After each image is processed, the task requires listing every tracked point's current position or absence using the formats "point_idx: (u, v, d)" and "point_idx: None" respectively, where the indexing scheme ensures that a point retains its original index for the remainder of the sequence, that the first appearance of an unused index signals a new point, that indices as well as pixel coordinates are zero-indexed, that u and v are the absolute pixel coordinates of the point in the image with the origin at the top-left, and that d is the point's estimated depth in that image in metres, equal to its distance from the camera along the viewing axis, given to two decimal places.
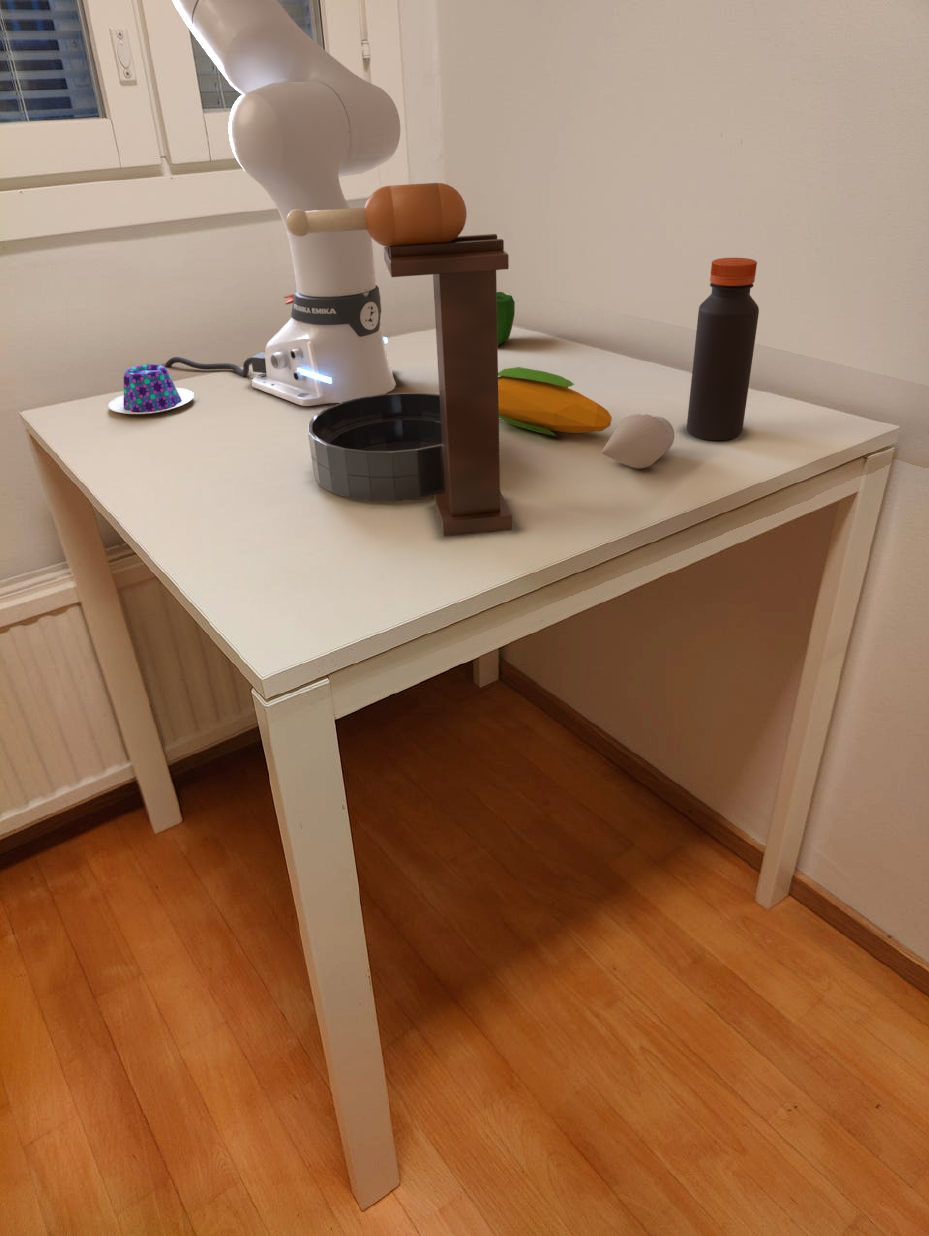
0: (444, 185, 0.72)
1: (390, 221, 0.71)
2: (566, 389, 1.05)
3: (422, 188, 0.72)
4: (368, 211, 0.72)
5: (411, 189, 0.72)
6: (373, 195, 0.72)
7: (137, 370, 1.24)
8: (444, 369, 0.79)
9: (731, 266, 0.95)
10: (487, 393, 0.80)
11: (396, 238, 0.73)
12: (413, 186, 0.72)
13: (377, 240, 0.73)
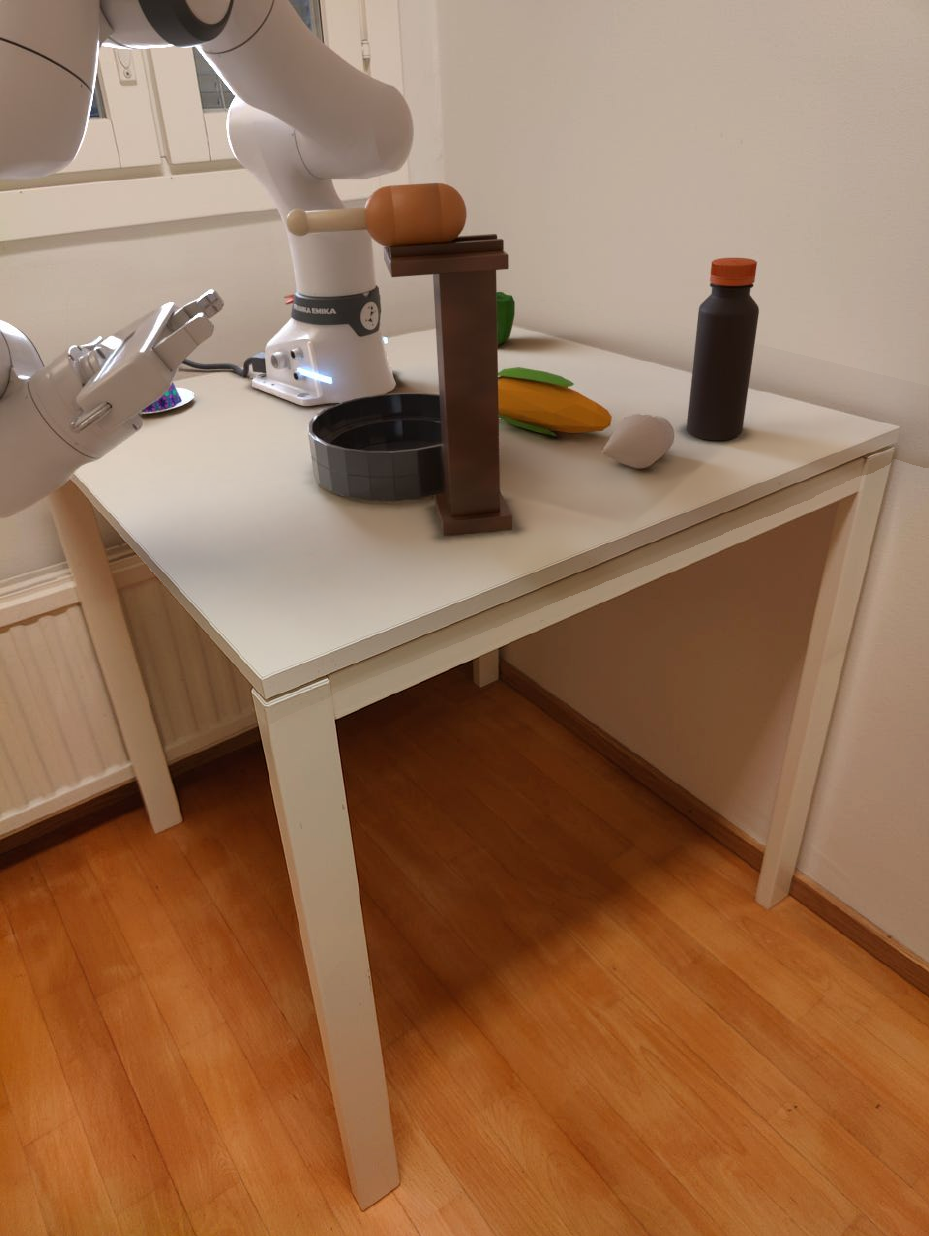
0: (444, 185, 0.72)
1: (390, 221, 0.71)
2: (566, 389, 1.05)
3: (422, 188, 0.72)
4: (368, 211, 0.72)
5: (411, 189, 0.72)
6: (373, 195, 0.72)
7: None
8: (444, 369, 0.79)
9: (731, 266, 0.95)
10: (487, 393, 0.80)
11: (396, 238, 0.73)
12: (413, 186, 0.72)
13: (377, 240, 0.73)
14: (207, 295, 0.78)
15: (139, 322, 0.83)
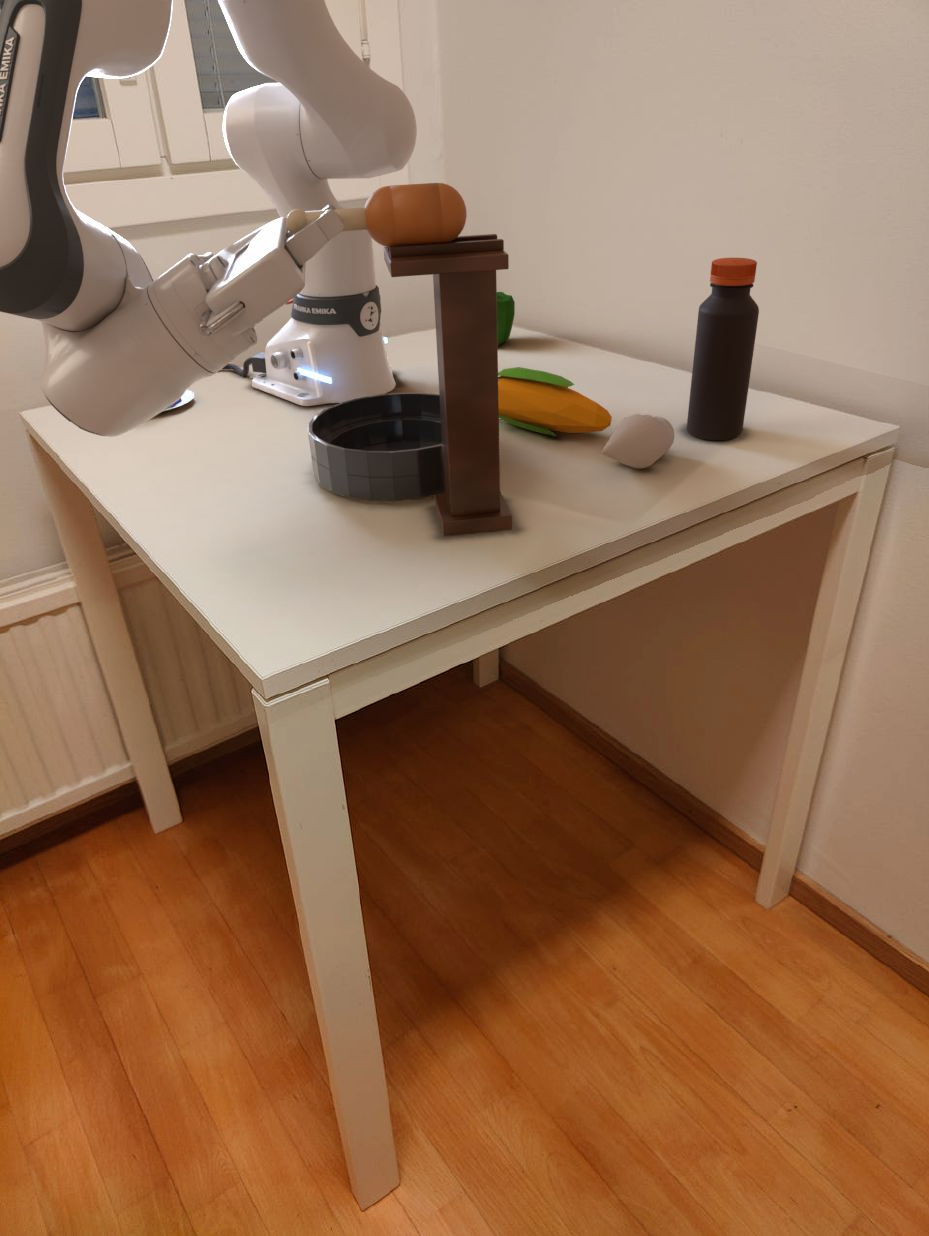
0: (444, 185, 0.72)
1: (390, 221, 0.71)
2: (566, 389, 1.05)
3: (422, 188, 0.72)
4: (368, 211, 0.72)
5: (411, 189, 0.72)
6: (373, 195, 0.72)
7: None
8: (444, 369, 0.79)
9: (731, 266, 0.95)
10: (487, 393, 0.80)
11: (396, 238, 0.73)
12: (413, 186, 0.72)
13: (377, 240, 0.73)
14: (327, 209, 0.73)
15: (250, 237, 0.80)
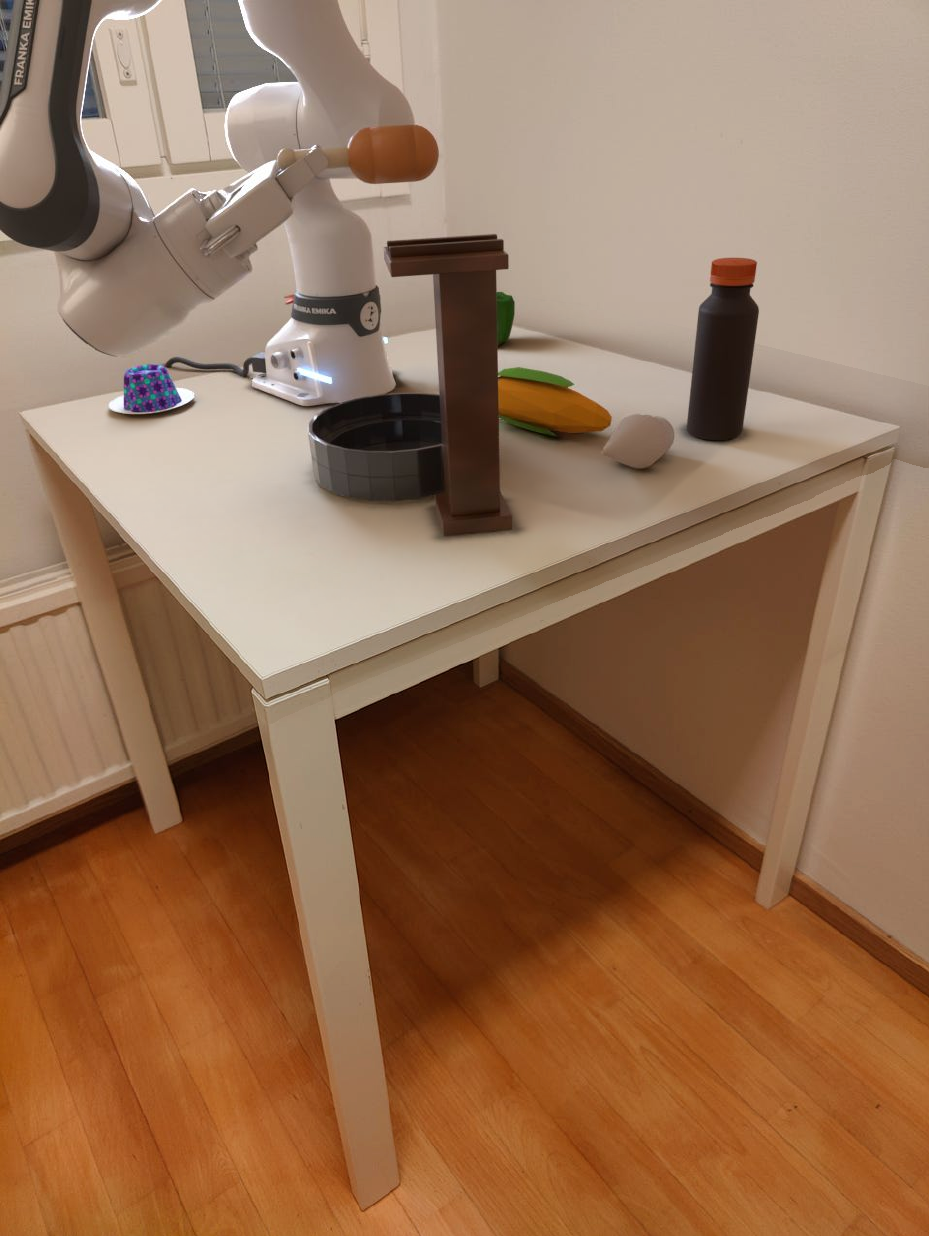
0: (418, 126, 0.81)
1: (370, 158, 0.80)
2: (566, 389, 1.05)
3: (398, 129, 0.80)
4: (350, 149, 0.81)
5: (388, 130, 0.80)
6: (355, 135, 0.81)
7: (137, 370, 1.24)
8: (444, 369, 0.79)
9: (731, 266, 0.95)
10: (487, 393, 0.80)
11: (375, 174, 0.81)
12: (391, 127, 0.81)
13: (359, 176, 0.82)
14: (314, 148, 0.82)
15: (246, 178, 0.89)
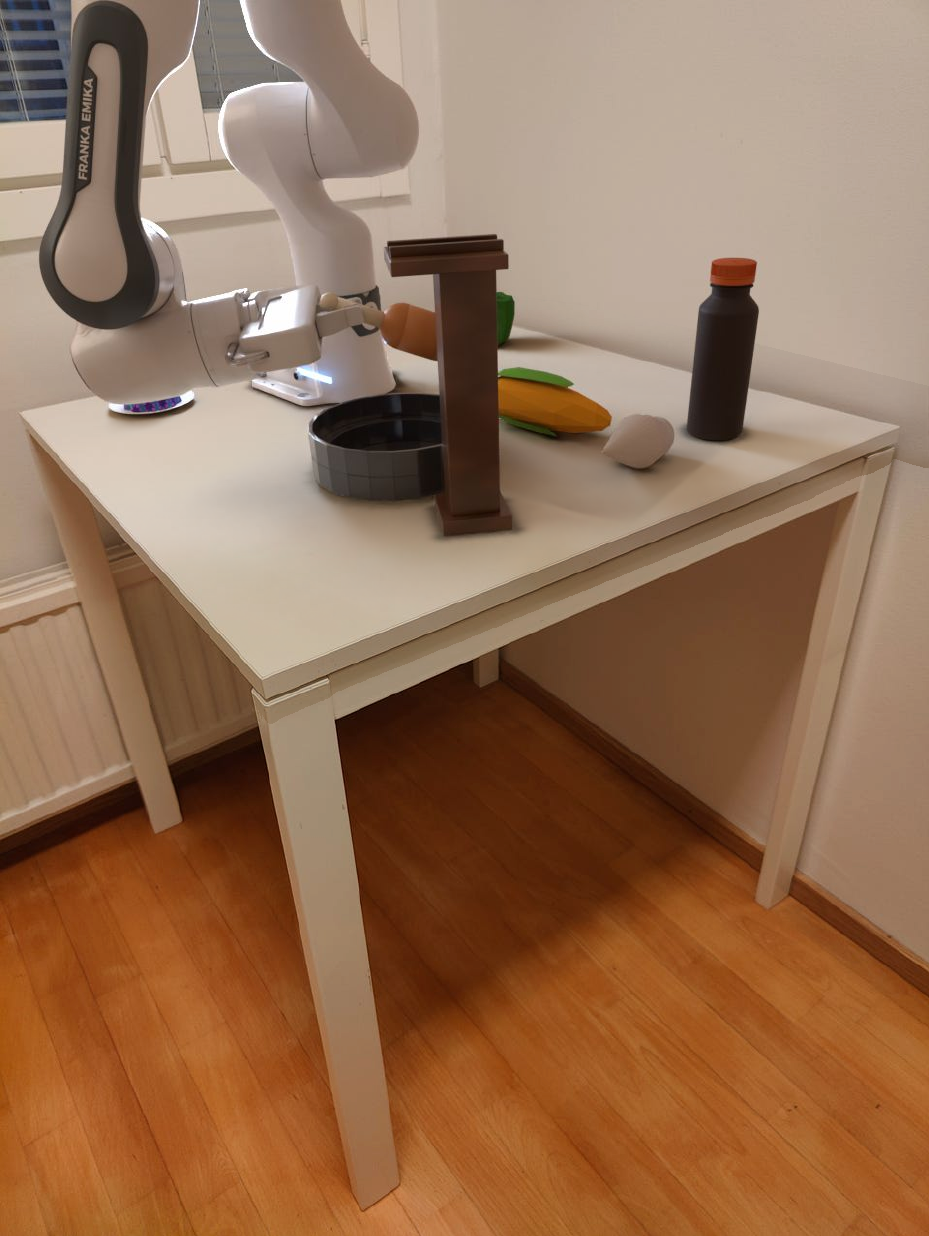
0: None
1: (400, 331, 0.90)
2: (566, 389, 1.05)
3: (432, 316, 0.91)
4: (386, 317, 0.90)
5: (424, 314, 0.90)
6: (394, 306, 0.90)
7: None
8: (444, 369, 0.79)
9: (731, 266, 0.95)
10: (487, 393, 0.80)
11: (399, 344, 0.91)
12: (426, 312, 0.91)
13: (385, 339, 0.91)
14: (355, 301, 0.91)
15: (284, 290, 0.97)
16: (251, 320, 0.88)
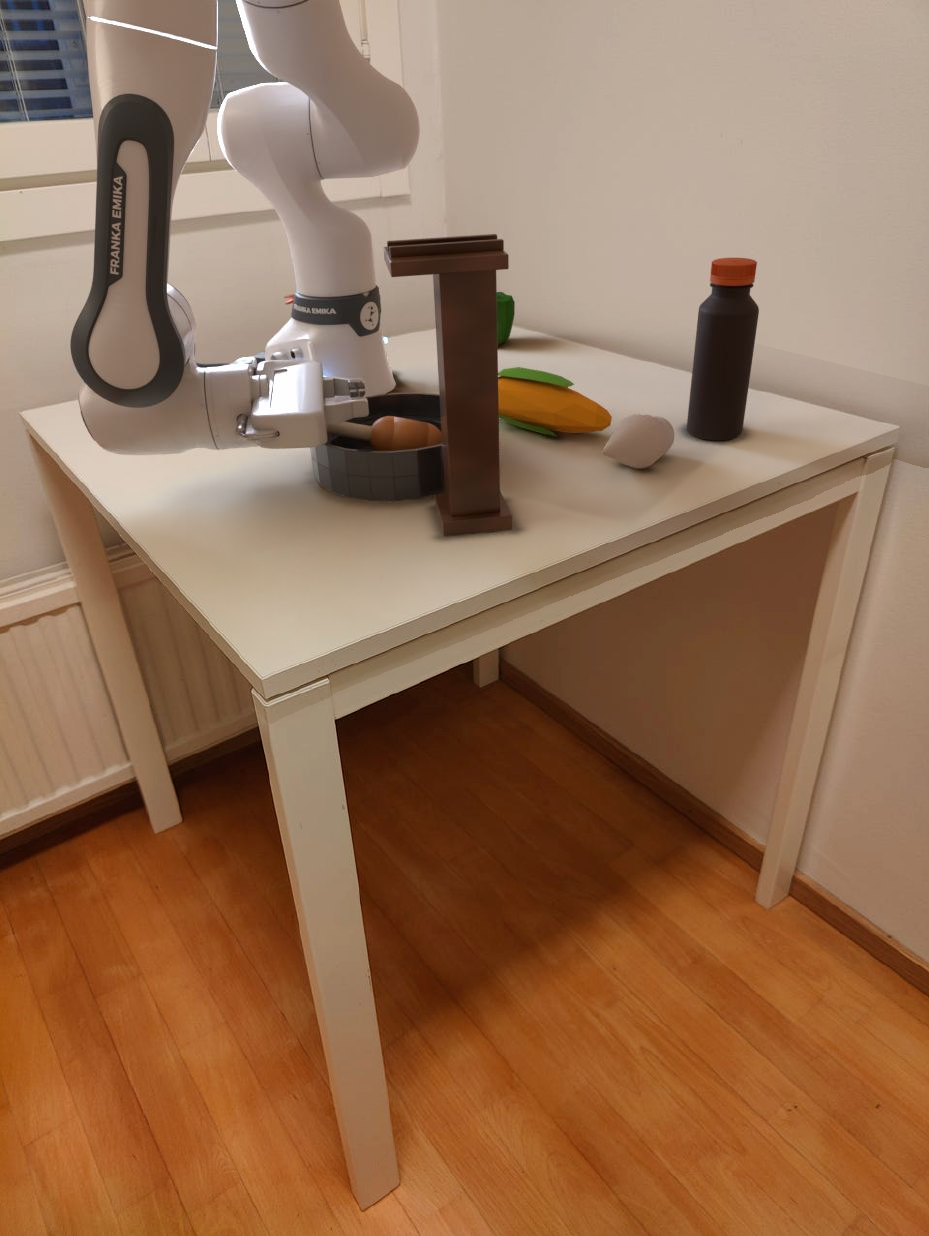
0: (433, 427, 0.99)
1: (388, 444, 0.97)
2: (566, 389, 1.05)
3: (417, 426, 0.98)
4: (374, 432, 0.98)
5: (408, 425, 0.98)
6: (380, 421, 0.98)
7: None
8: (444, 369, 0.79)
9: (731, 266, 0.95)
10: (487, 393, 0.80)
11: None
12: (411, 423, 0.98)
13: None
14: (359, 382, 0.98)
15: (289, 363, 1.01)
16: (261, 394, 0.92)
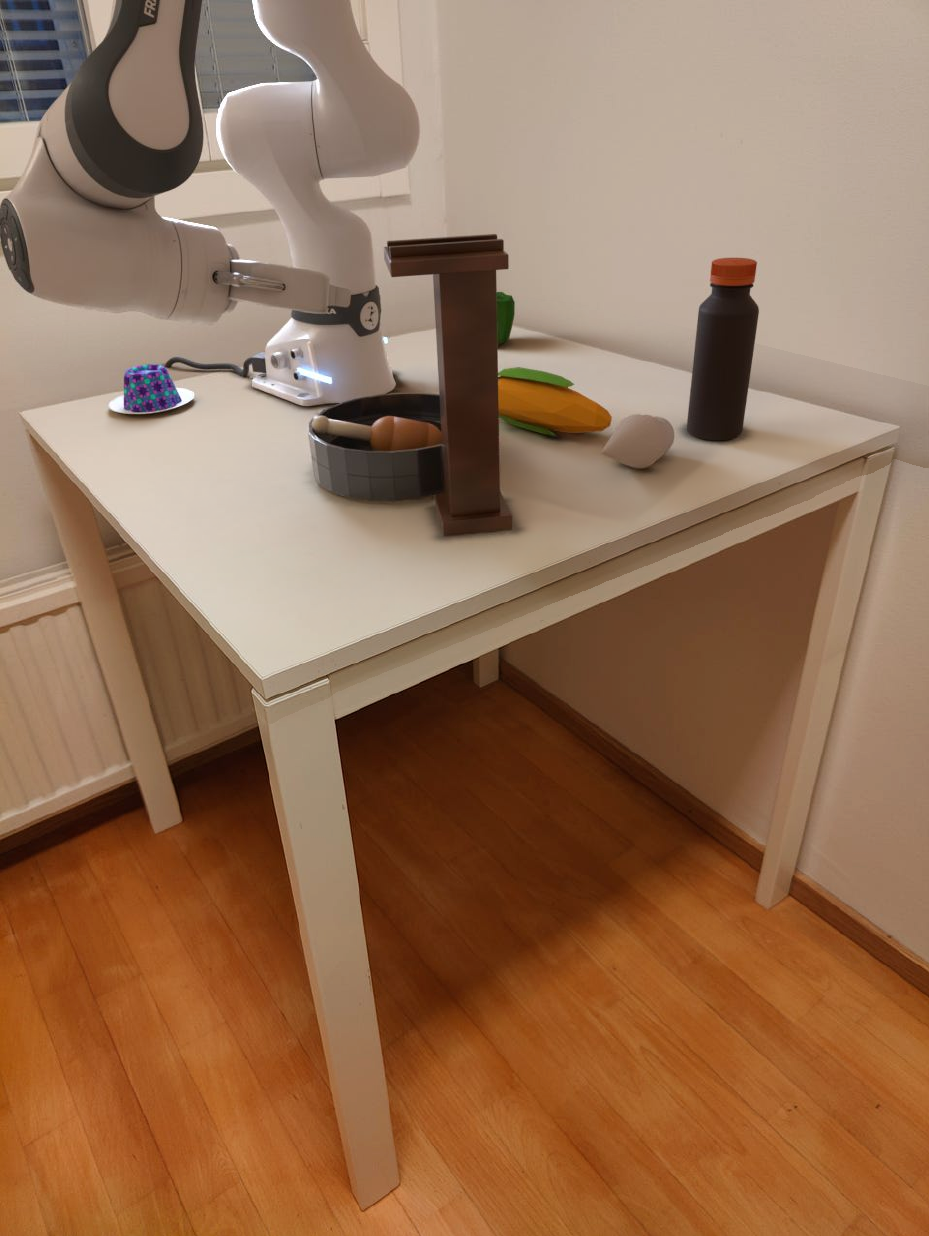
0: (433, 427, 0.99)
1: (388, 444, 0.97)
2: (566, 389, 1.05)
3: (417, 426, 0.98)
4: (374, 432, 0.98)
5: (408, 425, 0.98)
6: (380, 421, 0.98)
7: (137, 370, 1.24)
8: (444, 369, 0.79)
9: (731, 266, 0.95)
10: (487, 393, 0.80)
11: None
12: (411, 423, 0.98)
13: None
14: None
15: None
16: (234, 258, 0.81)
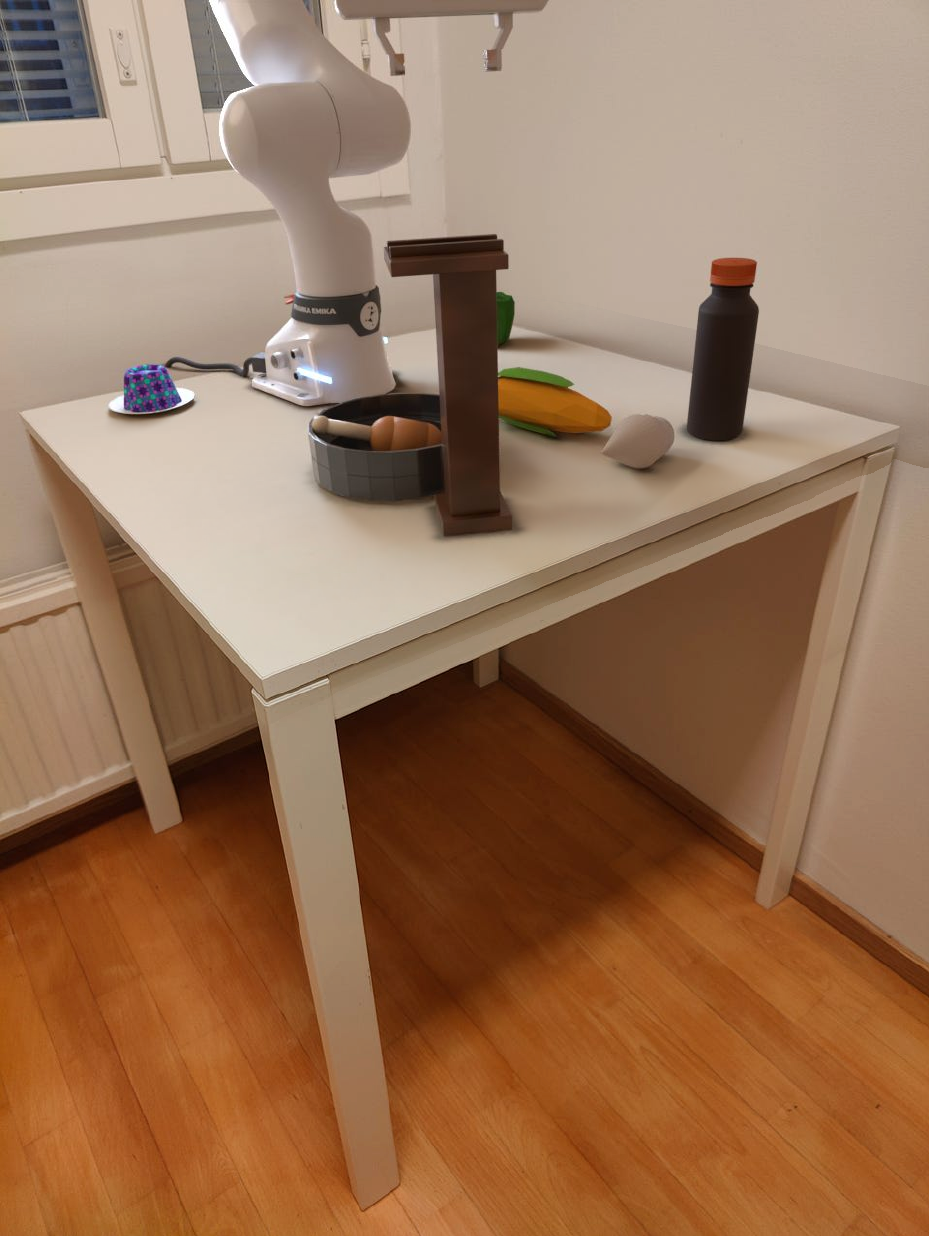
0: (433, 427, 0.99)
1: (388, 444, 0.97)
2: (566, 389, 1.05)
3: (417, 426, 0.98)
4: (374, 432, 0.98)
5: (408, 425, 0.98)
6: (380, 421, 0.98)
7: (137, 370, 1.24)
8: (444, 369, 0.79)
9: (731, 266, 0.95)
10: (487, 393, 0.80)
11: None
12: (411, 423, 0.98)
13: None
14: None
15: None
16: None
